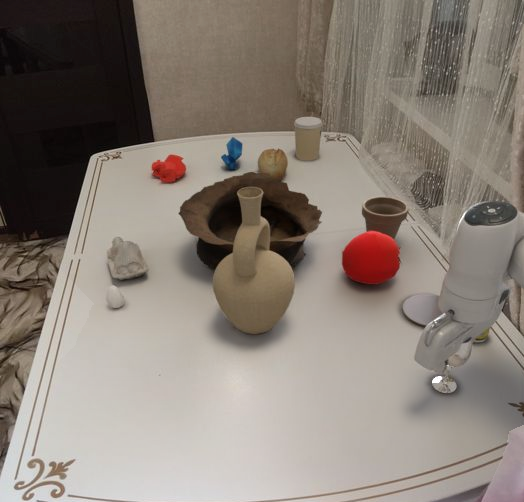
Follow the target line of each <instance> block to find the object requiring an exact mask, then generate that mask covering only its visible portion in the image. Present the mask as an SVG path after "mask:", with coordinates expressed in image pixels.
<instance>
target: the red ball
mask: <svg viewBox="0 0 524 502" xmlns="http://www.w3.org/2000/svg"><path fill="white" fill-rule="evenodd" d="M402 247H403V246H402V245H400V246H398V244H397V242H396V240H395V239H393V238H392V237H390V236H388V235H386V234H382V233H380V232H376V231H368V232H367V231H364V232H363V233H360V234H358V235H356V236H355V237H353V238H352V239H351V240H350V241H349V242H348V243H347V244H346V246H345V247H344V249H343V250H342V253H341V254H342V255H341V265H342V269H343V271H344V273H345V275H346V276H348V277H349V278H350V279H352V280H353V281H355V282H358V283H361V284H367V285H378V284H383V283H385V282H387V281H389V280H390V279H392V278H393V277H395V276H396V275H397V273H398V272H399V270H400V265H403V264H402V261H401V258H400V252H401V251H400V250H401V248H402Z"/></svg>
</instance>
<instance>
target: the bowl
mask: <svg viewBox="0 0 524 502" xmlns="http://www.w3.org/2000/svg"><path fill="white" fill-rule="evenodd" d="M245 187H256V188H260V189H261V190H262V191H263V196H262V199H261V210H260V216H261V217H263V218H265V219H266V220H267V222H268V223H269V226H270V246H269V250H270V251H272V252H275V253H277V254H279V255H280V256H282V257H283V258H284V259H285V260H286V261H287V262H288V263H289V265H290V266H291V268H292V267H294V266H296V265H297V264H299V263H300V262H302V261H303V260H304V258H305V257H306V255H307V254H306V253H305V250H304V242H306V241H305V240H306V238H307V237H309V235H310V234H311V233H313V232H315V231H316V230H317V229H318V228H319V225H321V224H322V223H323V221H322V220H320V219H321V216H322V214H323V211H322V210H320V209H318V206H317V205H314V204H312V203H309V201H310V199H309V198H308V196H307V195H306V194H305V193H303V192H297V191H293V190H290V189H289V186H288V183H287V182H283V181H281V180H277V179H276V178H274V177H272V176H271V175H270V174H269V173H260V172H255V171H249V172H248V171H247V172H245V173H243V174H239V175H231V176H230V177H227V178H224V179H223V180H220V181H214V182H213V184H211V185H207V186H204V187H203V188H202V189H201V190H200V191H197V192H195V193H193V195H191V196H190V197H189V198H188V199H186V200H184V201H183V202H182V204H181V206H180V207H179V212H178V215H179V216H180V218H181V220H182V221H183V223H184V227H185V229H186V230H187V231H188V233H189V234H190V235H192V236H195V237H196V238H197V242H196V255H197V257H198V259H199V260H200V261H201V263H202V264H203V265H204V266H206V267H207V268H209V269H211V270H213V271H215V270H216V268H217V266H218V265H219V263H220V262H221V261H222V260H223V259H224V258H225V257H227V256H228V255H229V254H231V253H233V246H234V241H235V237H236V234H237V231H238V229H239V227H240V226H241V224H242V211H241V205H240V200H239V197H238V195H237V192H238V191H239V190H240V189H242V188H245Z"/></svg>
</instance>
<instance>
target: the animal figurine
mask: <svg viewBox="0 0 524 502" xmlns="http://www.w3.org/2000/svg"><path fill="white" fill-rule="evenodd" d="M182 160H185V159H184V157H182V156H180V155H178V154H171V153H170V154H168V155H167V157H166V158H165V160H164V161H162V160H161V159H157V160H156V161H153V162H152V164H151V167H150V168H151V171H152V172H151V173H152V175H153V176H155V177H157V178H159V180H160V182H162V183H173V182H175V181H176V179H180V178H182V177H183V176H184V175H185V173H186V172H187V166H186V164H185V163H184V162H183V161H182Z"/></svg>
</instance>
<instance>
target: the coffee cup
mask: <svg viewBox="0 0 524 502" xmlns="http://www.w3.org/2000/svg"><path fill="white" fill-rule="evenodd" d="M293 126H294V143H295V157H296V159H297V160H300V161H303V162H310V161H315V160H317V159H318V158H319V154H320V145H321V137H322V128H323V122H322V119H321V118H319V117H315V116H303V117H298V118H296V119H295V121H294V123H293Z"/></svg>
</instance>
